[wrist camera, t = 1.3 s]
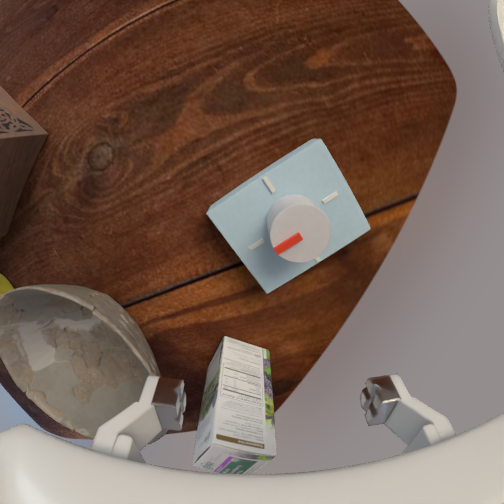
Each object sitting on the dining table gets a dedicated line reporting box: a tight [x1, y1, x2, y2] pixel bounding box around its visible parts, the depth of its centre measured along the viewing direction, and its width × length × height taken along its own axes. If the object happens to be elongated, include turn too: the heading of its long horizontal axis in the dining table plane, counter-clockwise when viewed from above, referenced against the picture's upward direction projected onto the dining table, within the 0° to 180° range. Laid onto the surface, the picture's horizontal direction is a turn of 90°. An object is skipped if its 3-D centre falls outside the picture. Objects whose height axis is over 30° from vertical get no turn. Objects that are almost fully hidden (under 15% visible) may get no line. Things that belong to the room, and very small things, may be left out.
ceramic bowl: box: [0, 284, 169, 444], centre depth 26 cm, size 22×23×10 cm
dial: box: [267, 195, 331, 263], centre depth 21 cm, size 4×4×4 cm
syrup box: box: [192, 336, 277, 474], centre depth 26 cm, size 6×6×14 cm
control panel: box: [207, 139, 371, 294], centre depth 25 cm, size 11×9×3 cm
